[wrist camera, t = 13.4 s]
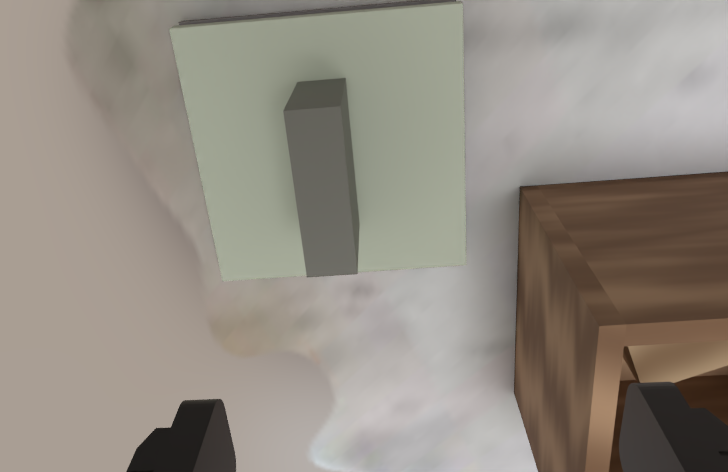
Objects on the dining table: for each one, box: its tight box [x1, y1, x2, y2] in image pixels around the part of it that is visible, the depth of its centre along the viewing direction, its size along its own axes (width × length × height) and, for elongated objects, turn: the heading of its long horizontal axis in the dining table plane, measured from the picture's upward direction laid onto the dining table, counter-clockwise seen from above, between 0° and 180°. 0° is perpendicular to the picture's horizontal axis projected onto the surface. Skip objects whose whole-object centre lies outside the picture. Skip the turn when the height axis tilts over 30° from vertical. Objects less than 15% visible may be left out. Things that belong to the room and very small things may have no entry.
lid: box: [169, 1, 466, 281], centre depth 31 cm, size 14×14×8 cm
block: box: [623, 340, 728, 383], centre depth 36 cm, size 5×5×5 cm
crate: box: [514, 172, 728, 472], centre depth 33 cm, size 15×15×14 cm
